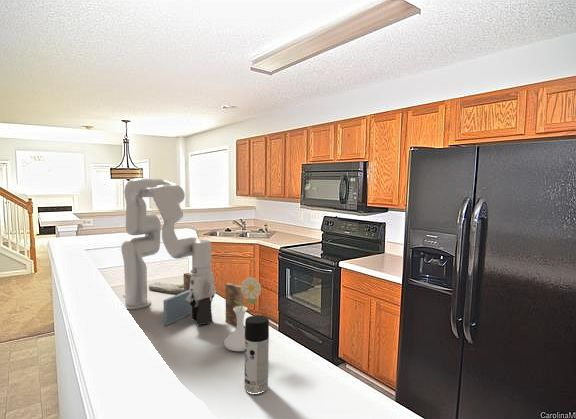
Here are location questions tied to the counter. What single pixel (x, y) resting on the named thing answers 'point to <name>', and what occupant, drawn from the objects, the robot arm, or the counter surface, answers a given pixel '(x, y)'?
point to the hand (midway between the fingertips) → (201, 312)
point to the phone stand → (203, 312)
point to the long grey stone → (167, 287)
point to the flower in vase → (242, 314)
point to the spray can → (256, 353)
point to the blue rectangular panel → (176, 307)
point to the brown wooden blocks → (231, 294)
